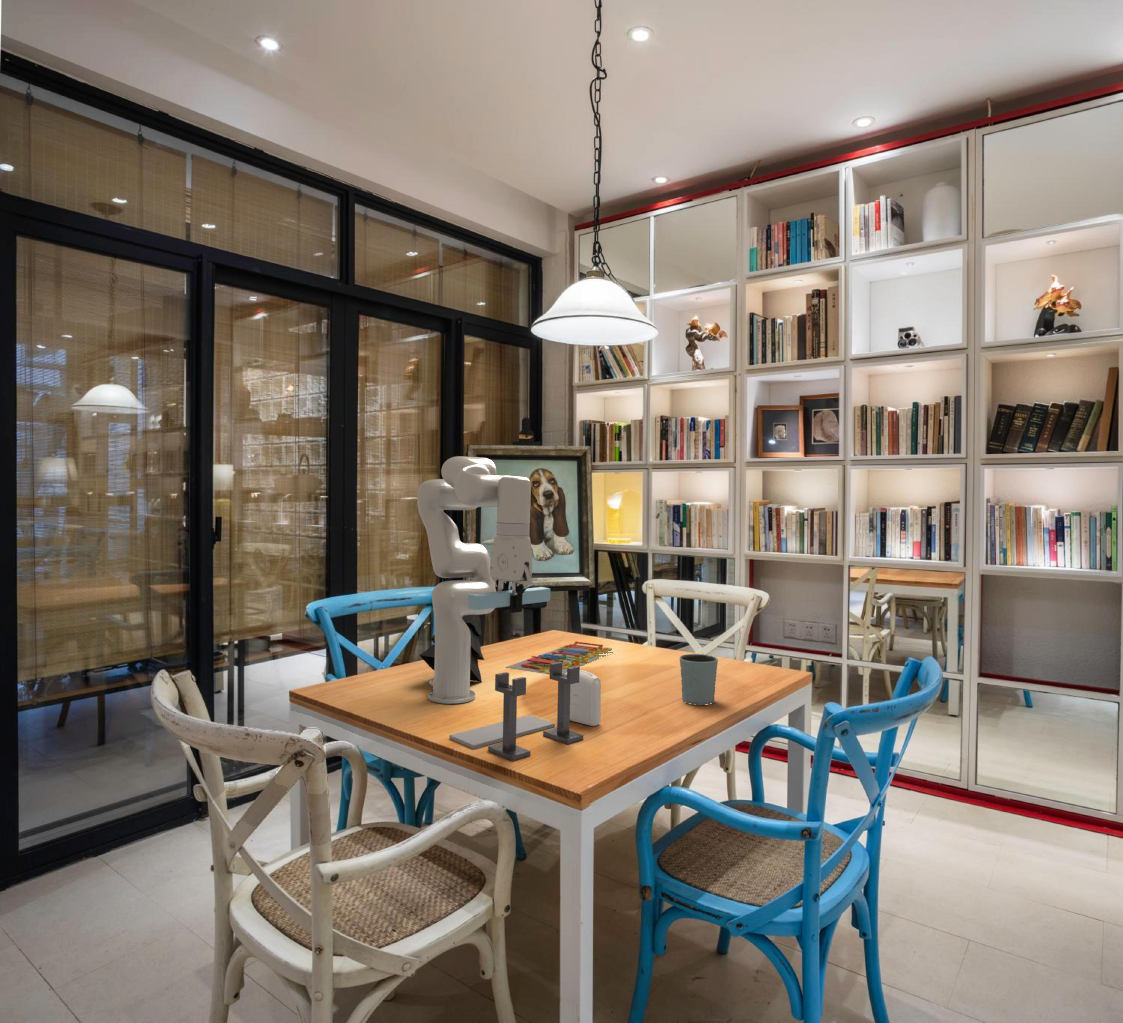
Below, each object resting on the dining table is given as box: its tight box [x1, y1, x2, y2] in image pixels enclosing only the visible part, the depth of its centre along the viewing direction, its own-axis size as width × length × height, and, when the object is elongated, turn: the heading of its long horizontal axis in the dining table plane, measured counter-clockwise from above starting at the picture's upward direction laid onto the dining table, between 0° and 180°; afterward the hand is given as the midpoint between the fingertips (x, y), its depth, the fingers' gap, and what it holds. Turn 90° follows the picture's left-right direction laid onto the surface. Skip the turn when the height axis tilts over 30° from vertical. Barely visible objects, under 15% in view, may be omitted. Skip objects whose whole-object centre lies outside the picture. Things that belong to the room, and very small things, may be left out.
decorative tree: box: [418, 614, 485, 683], centre depth 221 cm, size 15×15×35 cm
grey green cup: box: [679, 653, 719, 706], centre depth 201 cm, size 10×10×12 cm
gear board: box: [505, 640, 614, 675], centre depth 252 cm, size 45×2×19 cm
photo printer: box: [565, 669, 602, 727], centre depth 181 cm, size 10×4×12 cm, turn 47°
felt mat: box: [449, 714, 556, 750], centre depth 171 cm, size 9×24×1 cm, turn 134°
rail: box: [468, 586, 551, 610], centre depth 169 cm, size 3×22×3 cm, turn 134°
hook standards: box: [487, 662, 584, 762], centre depth 163 cm, size 8×21×16 cm, turn 134°
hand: (510, 610), depth 170 cm, fingers closed on rail, 3 cm apart
